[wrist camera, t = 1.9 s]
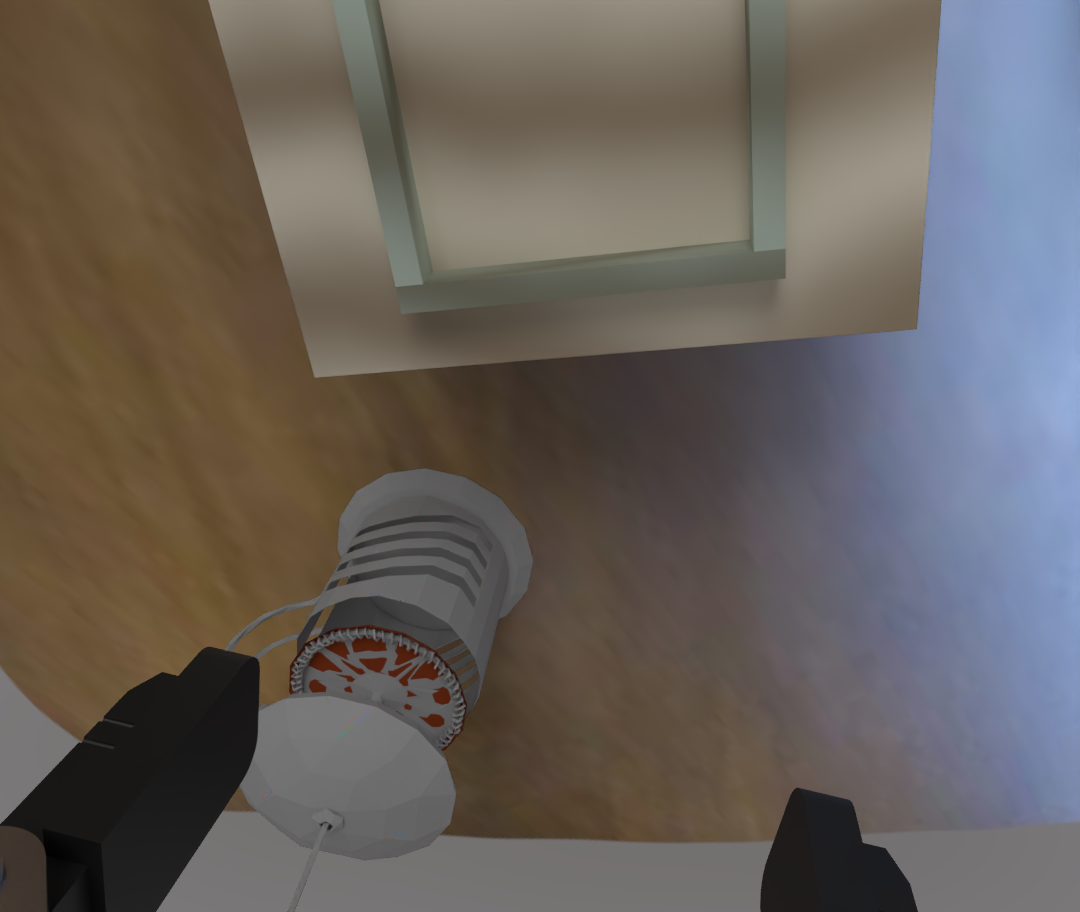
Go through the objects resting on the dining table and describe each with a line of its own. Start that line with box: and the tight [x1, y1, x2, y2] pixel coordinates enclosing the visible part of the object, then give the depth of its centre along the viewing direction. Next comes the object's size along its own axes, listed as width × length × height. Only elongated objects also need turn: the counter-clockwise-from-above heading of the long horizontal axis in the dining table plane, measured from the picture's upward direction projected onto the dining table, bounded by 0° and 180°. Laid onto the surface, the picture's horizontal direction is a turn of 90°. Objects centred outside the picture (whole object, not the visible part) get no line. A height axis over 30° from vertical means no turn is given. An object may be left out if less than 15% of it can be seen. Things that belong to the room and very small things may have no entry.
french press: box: [225, 468, 533, 912], centre depth 31 cm, size 10×12×25 cm
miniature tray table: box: [208, 0, 941, 378], centre depth 26 cm, size 15×18×11 cm
